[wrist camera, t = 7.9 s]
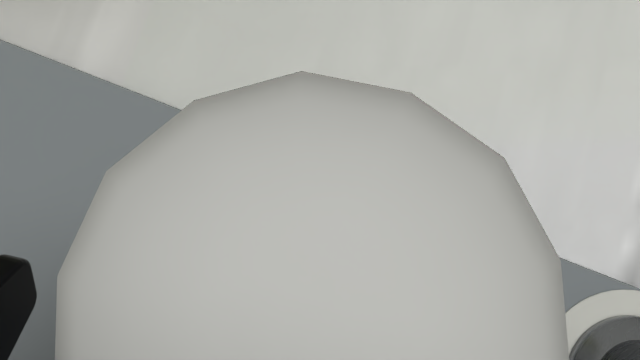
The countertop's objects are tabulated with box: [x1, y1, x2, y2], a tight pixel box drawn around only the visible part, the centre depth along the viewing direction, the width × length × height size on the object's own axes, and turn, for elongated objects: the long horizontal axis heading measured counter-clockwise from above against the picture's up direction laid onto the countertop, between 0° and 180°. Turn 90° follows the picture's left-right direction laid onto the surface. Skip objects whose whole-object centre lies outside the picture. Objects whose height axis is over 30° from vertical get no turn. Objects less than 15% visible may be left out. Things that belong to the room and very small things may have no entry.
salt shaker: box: [55, 71, 569, 360], centre depth 11 cm, size 6×6×13 cm
